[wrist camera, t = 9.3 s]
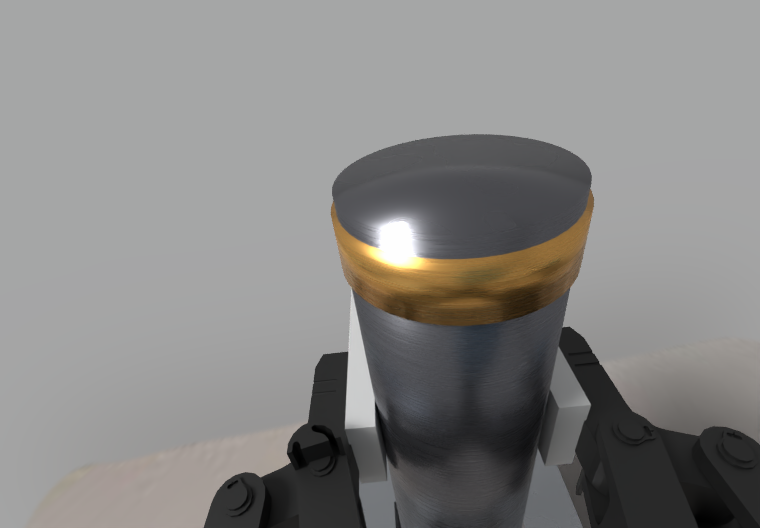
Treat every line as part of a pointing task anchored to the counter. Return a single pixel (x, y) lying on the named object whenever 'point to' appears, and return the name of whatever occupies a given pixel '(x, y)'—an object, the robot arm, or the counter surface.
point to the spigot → (462, 311)
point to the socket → (542, 514)
